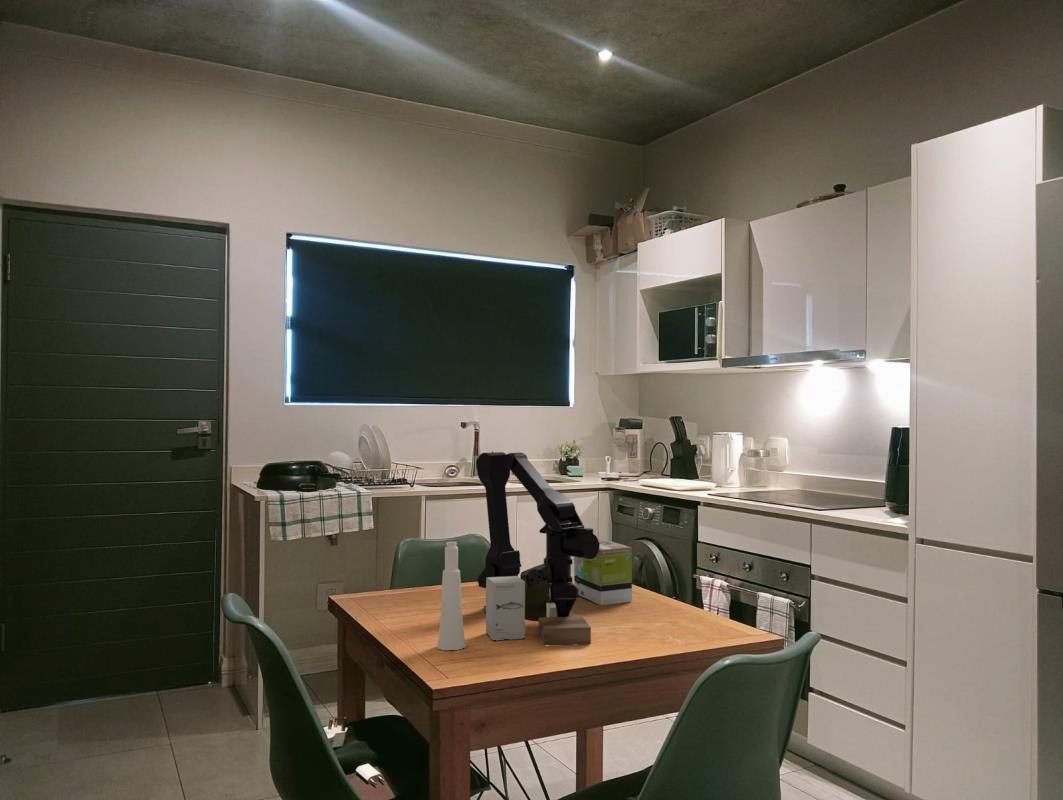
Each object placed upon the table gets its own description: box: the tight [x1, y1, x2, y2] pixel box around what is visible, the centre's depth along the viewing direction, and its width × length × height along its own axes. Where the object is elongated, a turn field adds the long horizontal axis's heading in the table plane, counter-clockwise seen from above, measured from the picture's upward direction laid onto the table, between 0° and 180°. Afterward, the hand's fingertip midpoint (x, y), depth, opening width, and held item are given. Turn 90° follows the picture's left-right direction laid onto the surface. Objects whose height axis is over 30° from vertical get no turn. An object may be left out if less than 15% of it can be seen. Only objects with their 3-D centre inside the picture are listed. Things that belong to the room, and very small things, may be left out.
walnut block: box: [537, 615, 592, 646], centre depth 179 cm, size 10×10×4 cm
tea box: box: [573, 539, 633, 606], centre depth 220 cm, size 15×10×15 cm, turn 25°
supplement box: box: [485, 575, 526, 641], centre depth 181 cm, size 7×7×13 cm
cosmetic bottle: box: [436, 541, 466, 651], centre depth 173 cm, size 6×6×22 cm
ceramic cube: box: [546, 602, 572, 617], centre depth 190 cm, size 5×5×5 cm
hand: (558, 621), depth 190 cm, fingers open, 9 cm apart
